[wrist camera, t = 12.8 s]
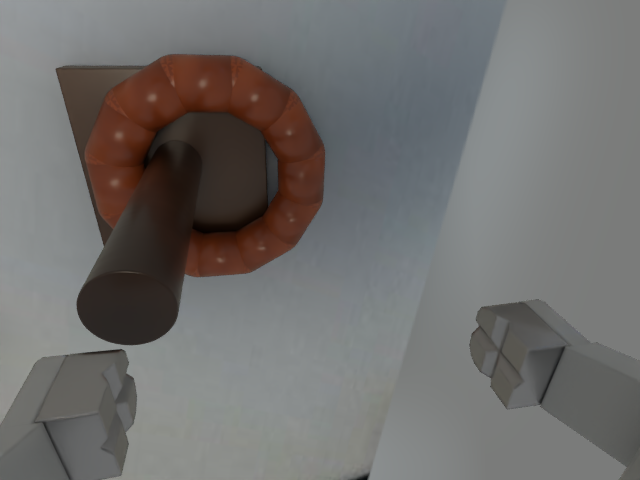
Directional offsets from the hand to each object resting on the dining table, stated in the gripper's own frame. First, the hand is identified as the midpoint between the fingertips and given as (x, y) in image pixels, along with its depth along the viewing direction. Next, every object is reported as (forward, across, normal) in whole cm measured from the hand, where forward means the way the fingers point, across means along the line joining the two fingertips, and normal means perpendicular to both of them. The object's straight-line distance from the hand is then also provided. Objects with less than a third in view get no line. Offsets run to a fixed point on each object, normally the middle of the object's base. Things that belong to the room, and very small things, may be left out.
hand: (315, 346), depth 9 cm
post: (+15, +4, 0) cm, 16 cm away
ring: (+13, +3, 0) cm, 13 cm away
